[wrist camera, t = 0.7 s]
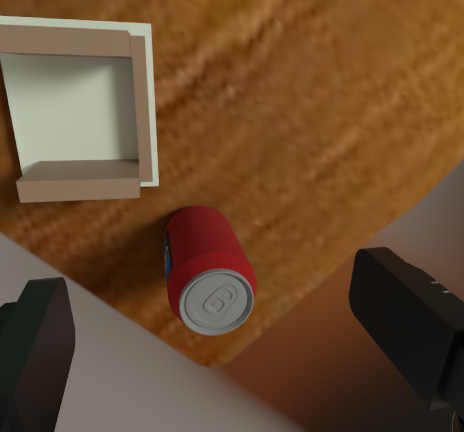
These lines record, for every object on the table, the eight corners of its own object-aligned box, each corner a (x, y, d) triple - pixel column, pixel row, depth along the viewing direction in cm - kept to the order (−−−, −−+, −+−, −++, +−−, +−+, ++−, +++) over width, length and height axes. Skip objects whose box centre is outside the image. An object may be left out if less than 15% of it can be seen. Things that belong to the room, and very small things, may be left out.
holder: (-4, 17, 27) (-50, 1, 20) (150, 25, 29) (151, 13, 23) (28, 187, 32) (-1, 217, 25) (158, 182, 34) (161, 209, 28)
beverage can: (147, 238, 36) (148, 313, 25) (194, 188, 35) (216, 244, 24) (198, 275, 38) (218, 357, 28) (243, 229, 38) (281, 296, 27)
